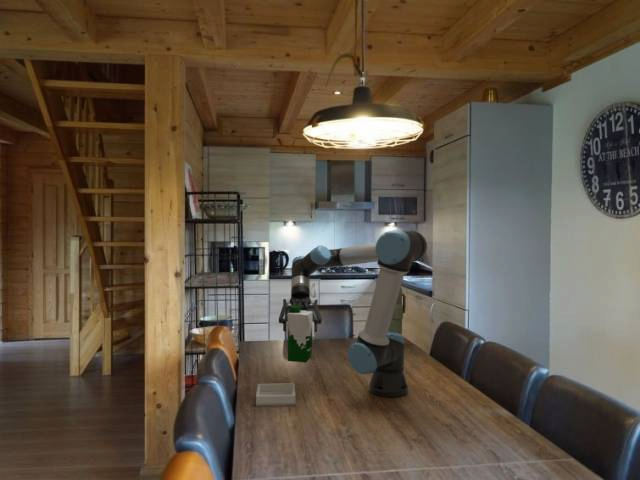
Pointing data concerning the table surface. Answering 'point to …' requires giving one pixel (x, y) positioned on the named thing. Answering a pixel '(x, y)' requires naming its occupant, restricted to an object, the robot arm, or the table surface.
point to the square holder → (275, 394)
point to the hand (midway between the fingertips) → (300, 338)
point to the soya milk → (299, 334)
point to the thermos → (398, 314)
